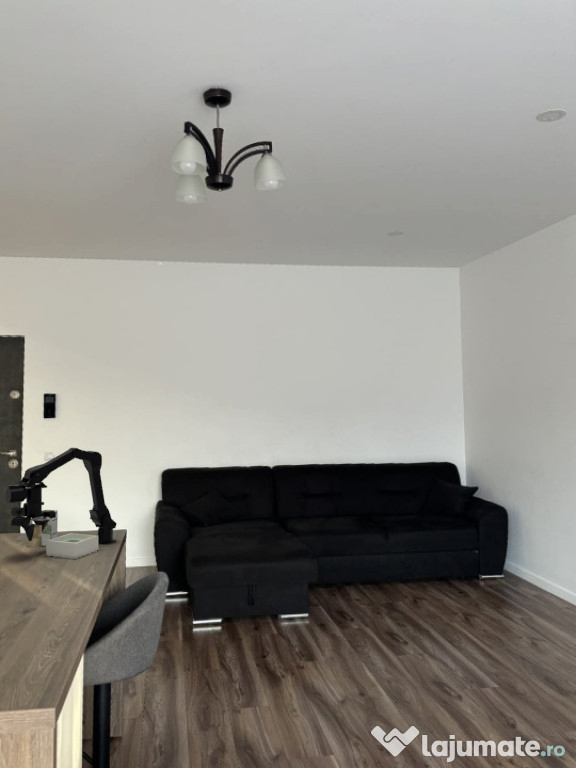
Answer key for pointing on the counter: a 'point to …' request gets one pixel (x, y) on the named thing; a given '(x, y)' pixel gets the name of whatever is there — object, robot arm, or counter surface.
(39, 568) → the counter surface
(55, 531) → the syrup box
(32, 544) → the maple peg
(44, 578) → the counter surface
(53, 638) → the counter surface
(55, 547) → the open box
